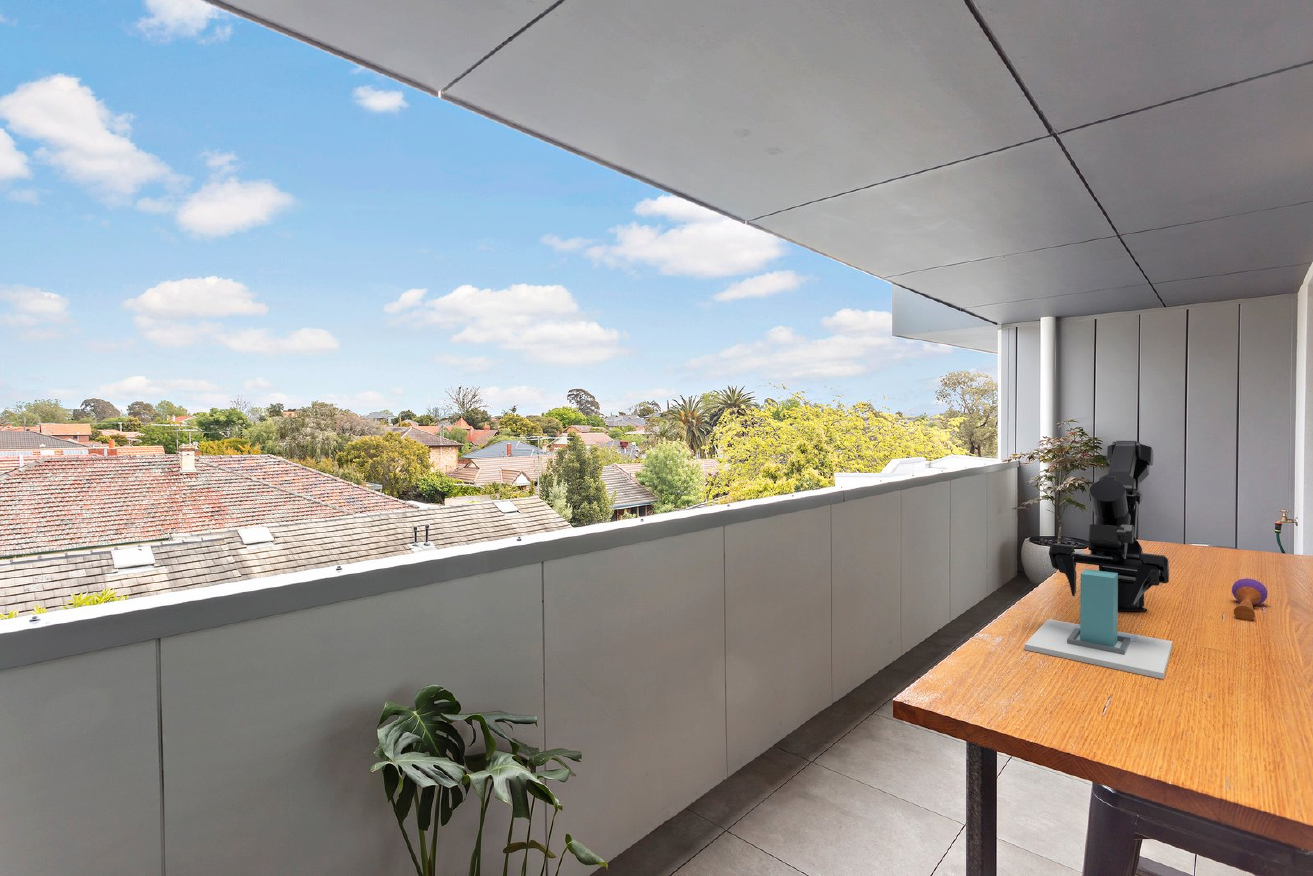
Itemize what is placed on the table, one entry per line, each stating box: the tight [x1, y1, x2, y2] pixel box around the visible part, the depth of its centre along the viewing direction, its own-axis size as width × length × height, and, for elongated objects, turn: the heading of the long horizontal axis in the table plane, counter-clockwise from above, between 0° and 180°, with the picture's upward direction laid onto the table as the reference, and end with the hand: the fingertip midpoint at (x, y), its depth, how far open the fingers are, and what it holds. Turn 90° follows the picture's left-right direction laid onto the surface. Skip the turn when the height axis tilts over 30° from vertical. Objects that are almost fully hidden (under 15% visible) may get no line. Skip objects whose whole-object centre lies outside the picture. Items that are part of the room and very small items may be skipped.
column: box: [1079, 568, 1119, 647], centre depth 115 cm, size 5×5×13 cm
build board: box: [1024, 618, 1173, 680], centre depth 115 cm, size 20×20×2 cm
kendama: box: [1231, 578, 1268, 622], centre depth 138 cm, size 6×6×20 cm
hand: (1101, 599), depth 117 cm, fingers open, 9 cm apart
